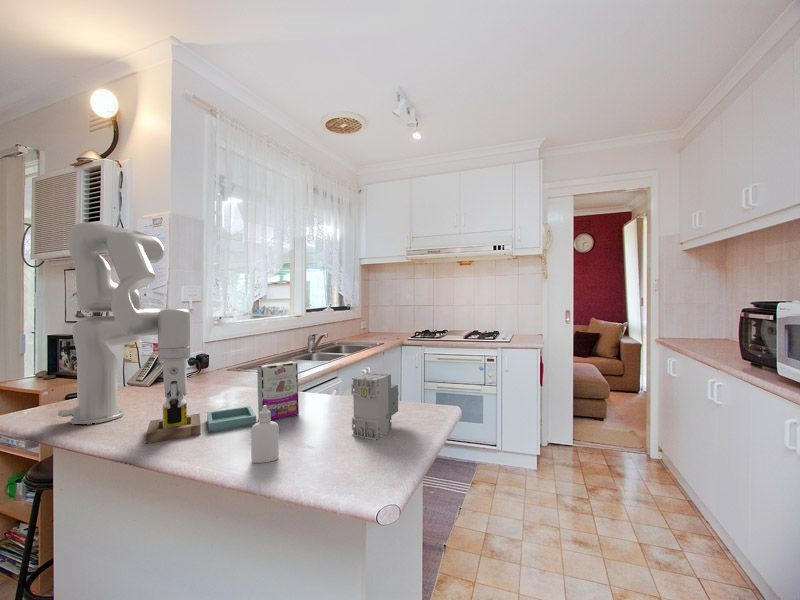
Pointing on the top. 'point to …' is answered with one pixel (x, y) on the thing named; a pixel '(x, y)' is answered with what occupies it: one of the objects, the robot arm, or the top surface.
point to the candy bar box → (278, 389)
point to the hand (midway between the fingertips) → (174, 418)
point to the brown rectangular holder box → (173, 430)
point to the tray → (230, 419)
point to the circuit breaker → (373, 404)
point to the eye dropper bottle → (264, 438)
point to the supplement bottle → (183, 413)
